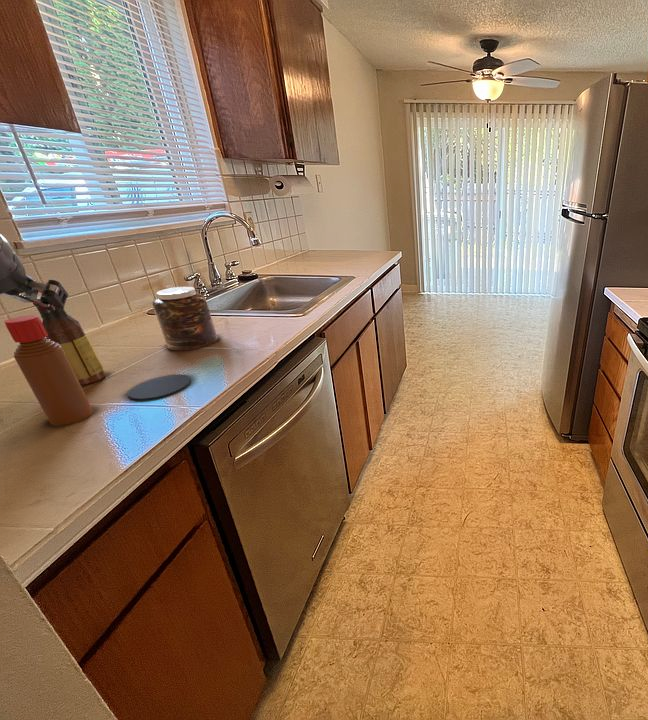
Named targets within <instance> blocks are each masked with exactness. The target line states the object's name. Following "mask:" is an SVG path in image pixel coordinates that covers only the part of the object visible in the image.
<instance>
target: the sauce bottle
mask: <svg viewBox="0 0 648 720" xmlns="http://www.w3.org/2000/svg"><path fill="white" fill-rule="evenodd" d="M40 297H41V295H37V298H38V299H40ZM32 304H33V306H35V308H36V309H37V311H38V312H39V315H40V318H41V320H42V321H41V322H42V324H43V326H44V328H45V330H46V332H47V335H48V336H46V337H45V338H46V339H50V341H54V342H55V343H58V344H59V345H61V346H62V348H63V350H64V352H65V354H66V357H67V359H68V361H69V363H70V365H71V367H72V369H73V371H74V373H75V375H76V377H77V379H78V381H79V383H80V385H81V386H84V385H85V386H86V385H89V384H93V383H96V382H98V381H101V380H102V379H104V378H105V377H106V372H105V370H104V367H103V364H102V362H101V360H100V359H99V357H98V355H97V353H96V351H95V348H94V346H93V345H92V343H91V341H90V339H89V338H88V336H87V334H86V333H85V331H84V329H83V327H82V325H81V323H80V322H79V321H78V320H76V319H75V318H74V317H73V316H72V315H70V314H68V313H67V311H66V310H65V308H64V309H59V308H56V307H55V310H54V311H50V312H49V313H46V312H42V310H41V309H40V308H39V306H38V304H35V303H33V302H32Z"/></svg>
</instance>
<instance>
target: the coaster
mask: <svg viewBox="0 0 648 720" xmlns="http://www.w3.org/2000/svg"><path fill="white" fill-rule="evenodd" d="M191 383H192V379H191V377H190V376H188V375H185V374H171V375H164V376H159V377H155V378H151V379H148V380H146V381H143V382H141V383H139V384H137V385H135V386H133V387H132V388H131V389H130V390H129V391H128V393H127V394H128V398H129V399H130V400H133V401H153V400H159V399H161V398H166V397H169V396H171V395H174V394H177V393H178V392H181V391H182V390H185V389H186V388H188V386H190V385H191Z"/></svg>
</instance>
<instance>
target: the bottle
mask: <svg viewBox="0 0 648 720" xmlns="http://www.w3.org/2000/svg"><path fill="white" fill-rule="evenodd" d="M13 358H14V360H15V361H16V364H17V365H18V367H19V369H20V371H21V373H22V374H23V376H24V379H25V380H26V382H27V383H28V385H29V387H30V389H31V391H32V393H33V395H34V396H35V398H36V400H37V403H39V405H40V408H41V409H42V411H43V413H44V414H45V417H46V418H47V420H48V422H49V423H50V425H51V426H55V427H59V426H67V425H72V424H74V423H78V422H80V421H83V420H84V419H86V418H88V417H90V416H91V415H93V413H94V410H93V408H92V406H91V404H90V402H89V400H88V397H87V396H86V393H85V391H84V389H83V388H82V385H80V383H79V381H78V379H77V377H76V375H75V373H74V371H73V369H72V367H71V365H70V363H69V361H68V359H67V357H66V354H65V352H64V350H63V348H62V346H61V345H59V344H58V343H55V342H54V341H50V339H46V338H42V339H39V340H35V341H30V342H21V343H19V344H18V345H17V348H16V349H15V351H14V352H13Z"/></svg>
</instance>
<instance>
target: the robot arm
mask: <svg viewBox="0 0 648 720" xmlns="http://www.w3.org/2000/svg"><path fill="white" fill-rule="evenodd" d="M39 293H40V294H41V295H40V296H41V297H40V299H38V298H37V297H38V294H39ZM0 296H4V297H9V298H11V299H15V300H17V301H20V302H22V303H32V304H33V303H35V304H38V306H39V308H40V309H41V310H42V312H46V313H49V312H50V311H54V310H55V307H56V308H59V309H64V310H65V306H66V302H67V300H68V298H69V293H68V291H67V290H66V289H65V288H64V286H63V285H62V284H61V282H60V281H58V280H55V279H48V281H47V282H45V283H44V282H39V281H37V280H35V279H33V277H31V276H29V275H27V271H26V269H25V265H24V264H23V262H22V261H21V259H20V257H19V256H18V255H17V253H16V252H15V250H14V249H13V246H12V245H11V244H10V243H9V241H8V240H7V239H6V238H5V237H4V236H3V235H2V234H1V233H0Z"/></svg>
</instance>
